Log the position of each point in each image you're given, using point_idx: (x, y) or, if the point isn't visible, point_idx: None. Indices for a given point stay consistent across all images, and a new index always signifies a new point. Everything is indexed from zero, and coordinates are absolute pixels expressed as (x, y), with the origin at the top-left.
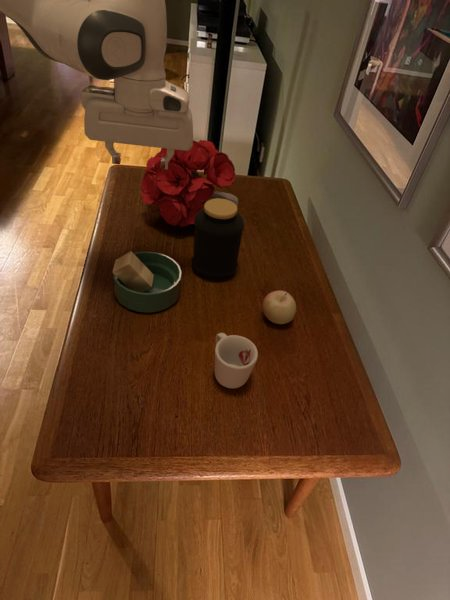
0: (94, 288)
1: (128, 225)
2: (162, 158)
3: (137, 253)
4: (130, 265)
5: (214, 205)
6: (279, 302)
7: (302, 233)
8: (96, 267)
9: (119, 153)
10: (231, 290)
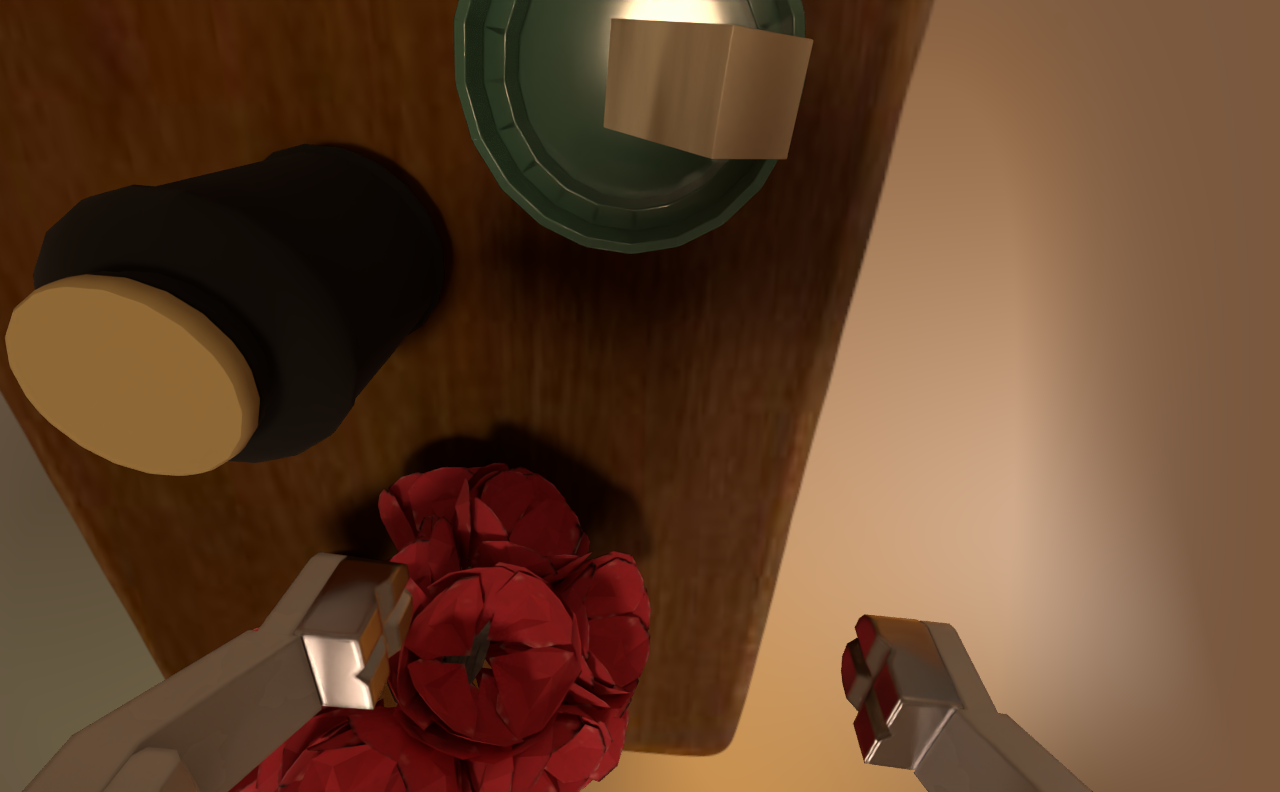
0: (863, 102)
1: (700, 492)
2: (352, 692)
3: (675, 236)
4: (721, 25)
5: (175, 402)
6: None
7: (46, 457)
8: (840, 248)
9: (880, 754)
10: (262, 84)
